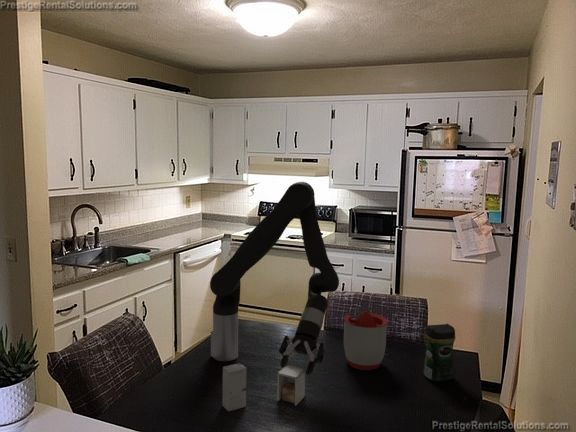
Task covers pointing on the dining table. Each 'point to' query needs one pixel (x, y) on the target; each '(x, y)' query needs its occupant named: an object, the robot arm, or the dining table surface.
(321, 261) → the robot arm
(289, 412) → the dining table surface
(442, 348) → the coffee jar
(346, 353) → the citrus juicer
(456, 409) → the dining table surface
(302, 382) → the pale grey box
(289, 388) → the cube
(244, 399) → the skincare box
